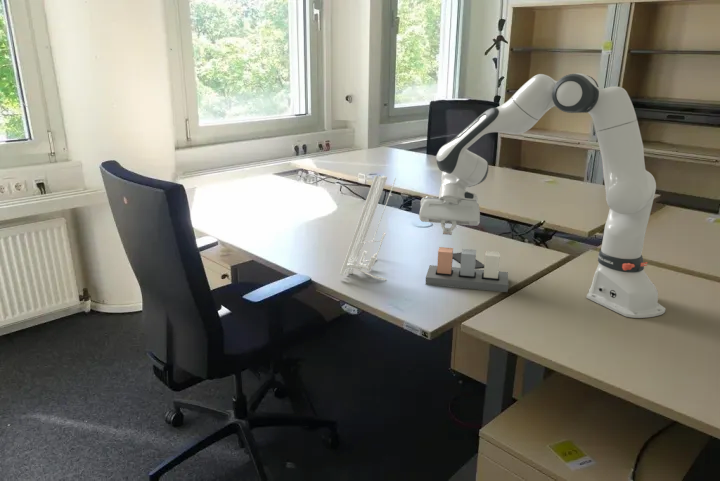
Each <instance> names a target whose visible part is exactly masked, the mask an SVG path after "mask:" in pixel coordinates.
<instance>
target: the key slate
mask: <svg viewBox="0 0 720 481" xmlns="http://www.w3.org/2000/svg"><path fill="white" fill-rule="evenodd" d="M461 252H462V253H461ZM461 252H460V253H461V264H460V267H459V268H460V275H464V276H474V273H475V260H477V257H476V256H477V250H476V249H470V248H469V249H466V248H462V249H461Z"/></svg>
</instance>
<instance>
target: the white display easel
mask: <svg viewBox="0 0 720 481" xmlns="http://www.w3.org/2000/svg"><path fill="white" fill-rule="evenodd" d="M387 180H388V176H385V175H374V177H373V180H372V183H371V185H370V188H369V191H368V194H367V197H366V200H365V203H364V205H363V207H362V211H361V214H360V216H359V218H358V222H357V224H356V227H355V231H354V234H353V236H352V239H351V242H350V243H349V244H350V245H349V247H348V250H347V253H346V256H345V259H344V262H343V264H342V267H341V269H340V272H339V275H340V276H344V275H346V274H347V275H353V274H352V273H354V270H357V271H359V272H361V273H363V274H366V275H368V276H369V277H370V278H373V279H378V280H382V281H387V278H385V277H379V276H376V275H374V274H373V275H372V274H371V273H370V271H371V270H372V267H374V266H375V264H376V261H378V259H377V257H378V255H379V252H380V250H381V246H382V244H383V241H384V238H385V236H386V234H387V233H386V232H385V231H384V232H382V236H381V238H380V240H375V238H376V234H377V232H378V228H379V226H380V222H381V221H382V218H383V215H384V212H385V210H386V207H387V204H388V202H389V199H390V197H393V195H392V190H393V189H394V188H393V187H394V185H395V182H396V180H397V178H396V177H395V178H394V180H393V184H392V186H391V189H390V190H389V193H388V197H387V199H386V201H385V202H386V203H385V205H384V207H383V211H382V213H381V216H380V220H379V221H378V224H377V227H376V230H375V232H374V236H373V238H372V240H366V237H367V234H368V233H369V230H370V226H371V223H372V220H373V217H374V216H375V212H376V209H377V207H378V204H379V202H380V199H381V196H382V194H383V191H384V187H385V184H386V182H387ZM375 242H380V244H379V247H378V249H377V251H376V253H374V254H373V256H372V255H370V259H367V260H365V258H366V255H367V253H368V251H366V250H363V251H362V248H363V245H366V243H375ZM361 251H362V255H361V257H360V260H359V256H360V254H361ZM358 260H359V261H358ZM357 262H358V264H357ZM365 262H369V263H365ZM363 269H365V270H366V271H365V270H363ZM367 271H368V272H367Z"/></svg>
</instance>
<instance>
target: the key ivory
mask: <svg viewBox="0 0 720 481" xmlns="http://www.w3.org/2000/svg"><path fill="white" fill-rule="evenodd" d="M500 258H501V251H493V250H492V251H491V250H485V254H484V265H485V266H484V268H483V270H484V277H486V278H497V279H498V273H499V270H500V262H501V261H500V260H501V259H500Z"/></svg>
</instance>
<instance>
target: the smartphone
mask: <svg viewBox="0 0 720 481" xmlns="http://www.w3.org/2000/svg"><path fill="white" fill-rule="evenodd" d="M461 253H462V251H461V252H455V253H454V252H453V260H454V261H455V262H457V263H459V264H460V265H461ZM484 266H485V263H484V264H483V263H482V262H481V261H479V260H478V259H476V260H475V269H484Z"/></svg>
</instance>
